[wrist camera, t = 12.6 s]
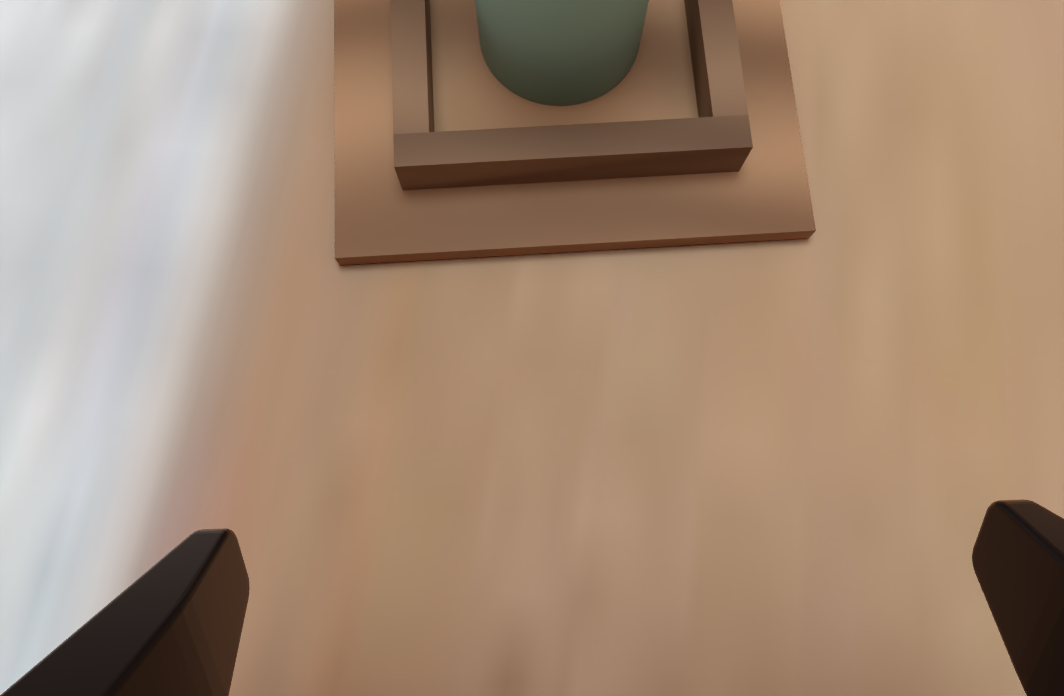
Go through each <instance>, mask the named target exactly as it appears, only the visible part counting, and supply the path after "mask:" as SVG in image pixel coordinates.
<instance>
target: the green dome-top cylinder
mask: <svg viewBox="0 0 1064 696" xmlns="http://www.w3.org/2000/svg"><path fill="white" fill-rule="evenodd" d="M648 2H649V0H475V4H476V12H477V21H478V30H479V39H480V47H481V51H482V55H483V57H484V60H485V62H486V64H487V66H488V67H489V69H490V71H491V72H492V74H493V75H494V76H495V77H496V79H497V80H498V81H499V82H500V83H501V84H502V85H504V86H505V87H506V88H507V89H509V90H510V91H511V92H513V93H515V94H517V95H518V96H520V97H522V98H525V99H527V100H530V101H532V102H536V103H540V104H545V105H552V106H567V105H576V104H580V103H585V102H588V101H590V100H593V99H596V98H598V97H600V96H602V95H604V94H605V93H607V92H608V91H610V90H612V89H613V88H614V87H615V86H616V85H618V84H619V83H620V82H621V81H622V80H623V78H624V77H625V76H626V75H627V74H628V72H629V71H630V69H631V68H632V66H633V64H634V61H635V59H636V57H637V53H638V50H639V45H640V40H641V36H642V31H643V26H644V21H645V16H646V11H647V7H648Z"/></svg>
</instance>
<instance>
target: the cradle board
mask: <svg viewBox="0 0 1064 696" xmlns="http://www.w3.org/2000/svg"><path fill="white" fill-rule="evenodd" d="M334 56H335V259H336V260H337V262H338V263H339V265H351V264H368V263H386V262H403V261H420V260H438V259H455V258H473V257H490V256H507V255H525V254H542V253H560V252H577V251H595V250H612V249H629V248H647V247H664V246H682V245H699V244H717V243H734V242H751V241H769V240H786V239H804V238H809V237H810V236H811V235H812V234H813V233H814V232H815V231H816V229H815V223H814V217H813V210H812V204H811V198H810V191H809V185H808V179H807V172H806V166H805V160H804V153H803V147H802V141H801V134H800V128H799V122H798V115H797V109H796V103H795V96H794V90H793V84H792V77H791V71H790V65H789V58H788V52H787V46H786V39H785V33H784V27H783V20H782V14H781V8H780V1H779V0H649V2H648V7H647V11H646V16H645V21H644V26H643V31H642V36H641V40H640V45H639V50H638V53H637V57H636V59H635V61H634V64H633V66H632V68H631V69H630V71H629V72H628V74H627V75H626V76H625V77H624V78H623V80H622V81H621V82H620V83H619V84H618V85H616V86H615V87H614V88H613V89H612V90H610V91H608V92H607V93H605V94H604V95H602V96H600V97H598V98H596V99H593V100H590V101H588V102H585V103H580V104H576V105H567V106H552V105H545V104H540V103H536V102H532V101H530V100H527V99H525V98H522V97H520V96H518V95H517V94H515V93H513V92H511V91H510V90H509V89H507V88H506V87H505V86H504V85H502V84H501V83H500V82H499V81H498V80H497V79H496V77H495V76H494V75H493V74H492V72H491V71H490V69H489V67H488V66H487V64H486V62H485V60H484V57H483V55H482V51H481V47H480V39H479V30H478V21H477V12H476V4H475V0H334Z"/></svg>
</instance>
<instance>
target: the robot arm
mask: <svg viewBox="0 0 1064 696" xmlns="http://www.w3.org/2000/svg"><path fill="white" fill-rule="evenodd" d="M972 561H973V567H974V571H975V574H976V576H977V578H978V581H979V583H980V586H981V588H982V591H983V593H984V595H985V598H986V600H987V603H988V605H989V608H990V610H991V612H992V615H993V617H994V620H995V622H996V625H997V627H998V629H999V632H1000V634H1001V637H1002V639H1003V642H1004V644H1005V646H1006V649H1007V651H1008V654H1009V656H1010V659H1011V661H1012V663H1013V666H1014V668H1015V671H1016V673H1017V675H1018V677H1019V680H1020V682H1021V684H1022V686H1023V688H1024V691H1025V693H1026V695H1027V696H1064V519H1063V518H1062V517H1060V516H1058V515H1056V514H1054V513H1053V512H1051V511H1049V510H1047V509H1046V508H1044V507H1042V506H1040V505H1039V504H1037V503H1035V502H1033V501H1029V500H1001V501H996V502H993V503H992V504H991V505H990V506H989V507H988V509H987V511H986V514H985V517H984V520H983V523H982V526H981V528H980V531H979V534H978V537H977V540H976V542H975V545H974V548H973V554H972ZM248 598H249V578H248V574H247V570H246V567H245V564H244V560H243V557H242V553H241V550H240V547H239V543H238V540H237V537H236V535H235V533H234V532H233V531H232V530H229V529H203V530H198V531H196V532H194V533H192V534H191V535H190V536H188V537H187V538H186V539H185V540H184V541H183V542H181V543H180V544H179V545H178V546H177V547H175V548H174V549H173V550H172V551H171V552H169V553H168V554H167V555H166V556H165V557H164V558H162V559H161V560H160V561H159V562H158V563H156V564H155V565H154V566H153V567H152V568H151V569H149V570H148V571H147V572H146V573H145V574H143V575H142V576H141V577H140V578H139V579H138V580H136V581H135V582H134V583H133V584H132V585H130V586H129V587H128V588H127V589H126V590H124V591H123V592H122V593H121V594H120V595H119V596H117V597H116V598H115V599H114V600H113V601H111V602H110V603H109V604H108V605H107V606H106V607H104V608H103V609H102V610H101V611H100V612H98V613H97V614H96V615H95V616H94V617H93V618H91V619H90V620H89V621H88V622H87V623H85V624H84V625H83V626H82V627H81V628H79V629H78V630H77V631H76V632H75V633H74V634H72V635H71V636H70V637H69V638H68V639H66V640H65V641H64V642H63V643H62V644H61V645H59V646H58V647H57V648H56V649H55V650H53V651H52V652H51V653H50V654H49V655H48V656H46V657H45V658H44V659H43V660H42V661H40V662H39V663H38V664H37V665H36V666H35V667H33V668H32V669H31V670H30V671H29V672H27V673H26V674H25V675H24V676H23V677H21V678H20V679H19V680H18V681H17V682H16V683H14V684H13V685H12V686H11V687H10V688H8V689H7V690H6V691H5V692H4V693H3V694H1V695H0V696H229V691H230V686H231V681H232V676H233V671H234V666H235V661H236V657H237V652H238V647H239V642H240V637H241V632H242V627H243V622H244V618H245V613H246V608H247V603H248Z"/></svg>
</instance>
